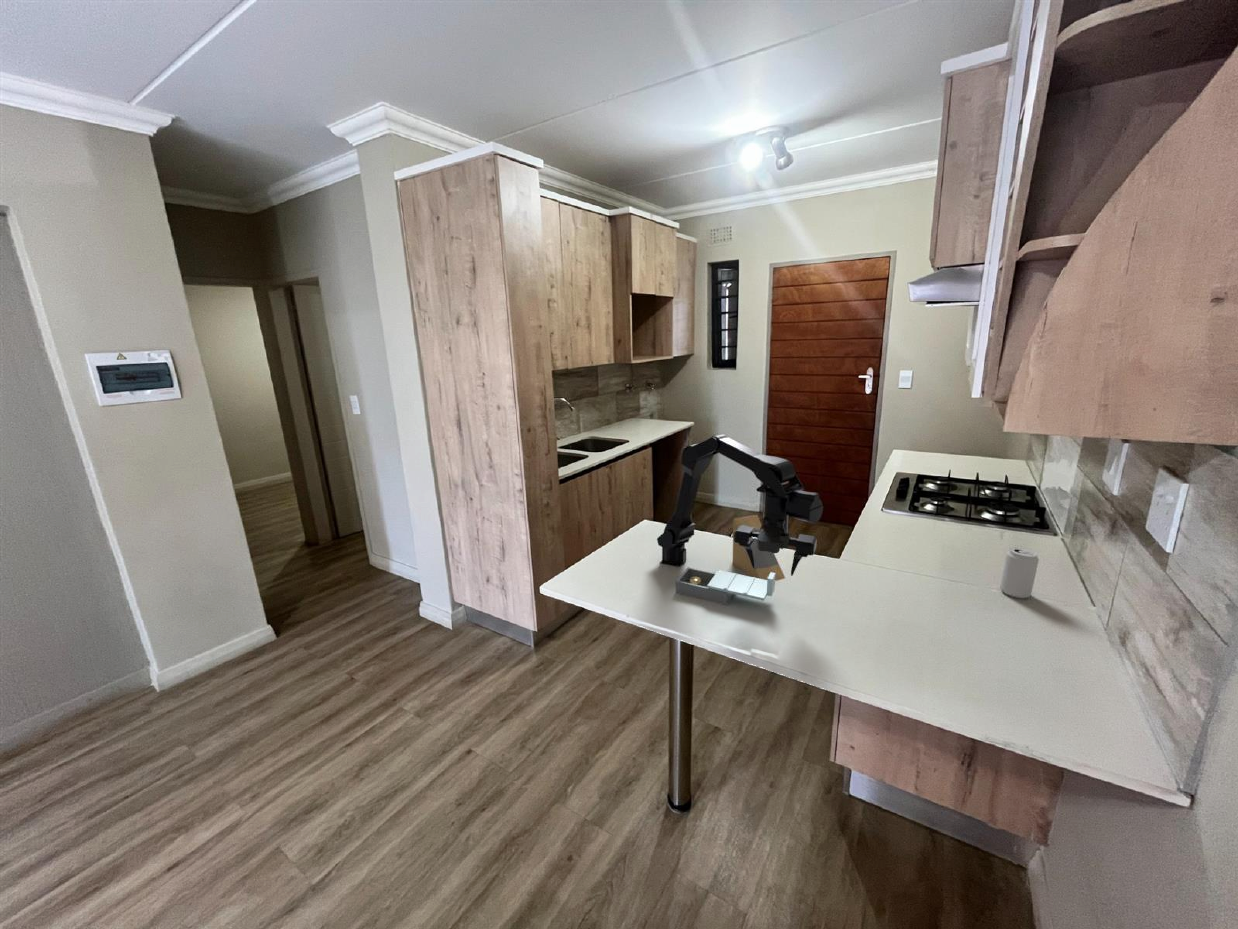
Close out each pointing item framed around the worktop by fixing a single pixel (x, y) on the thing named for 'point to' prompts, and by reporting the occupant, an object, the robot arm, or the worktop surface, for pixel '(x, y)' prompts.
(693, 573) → the tub
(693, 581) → the brass slug
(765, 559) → the sandwich container
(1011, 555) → the beverage can
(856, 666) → the worktop surface
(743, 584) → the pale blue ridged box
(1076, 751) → the worktop surface
